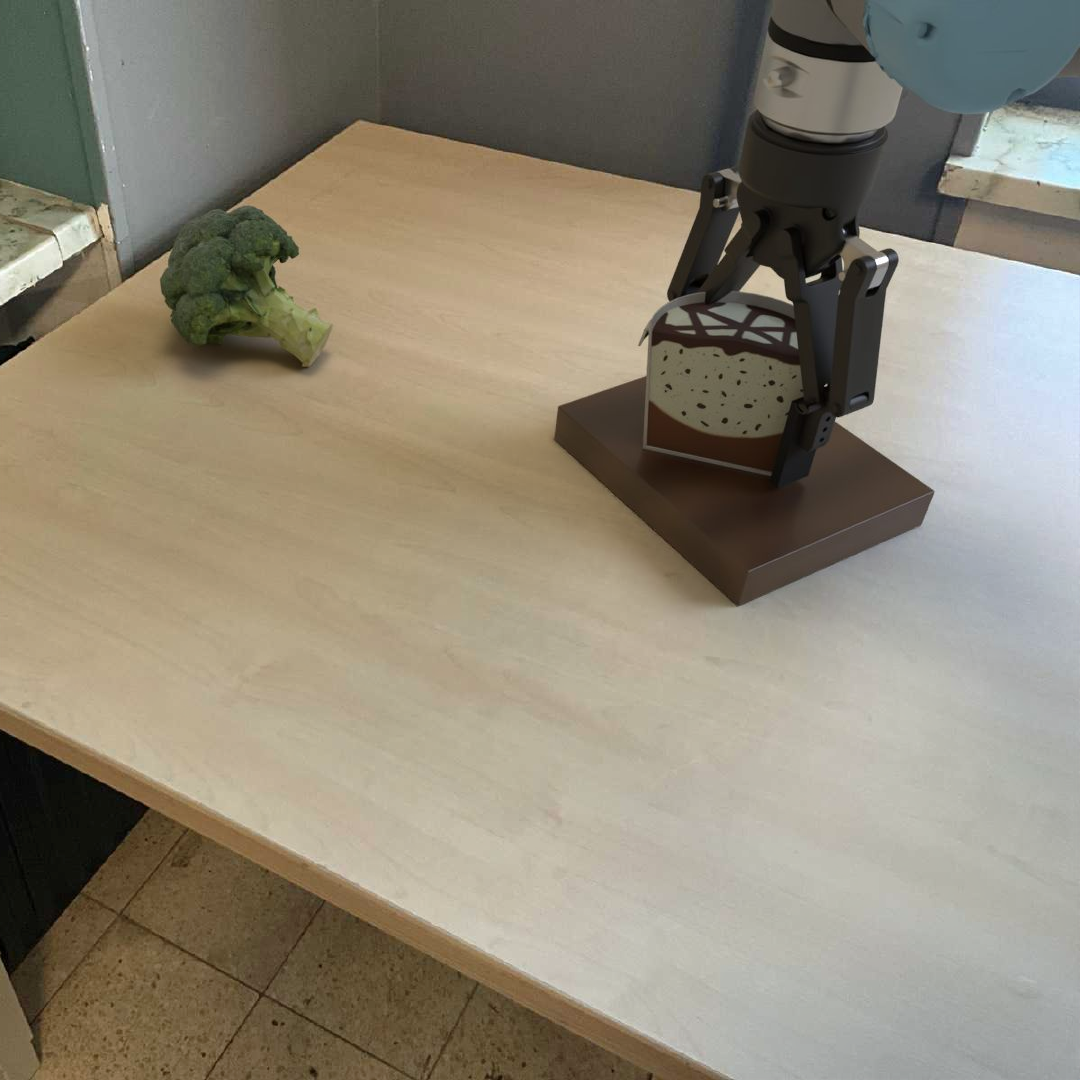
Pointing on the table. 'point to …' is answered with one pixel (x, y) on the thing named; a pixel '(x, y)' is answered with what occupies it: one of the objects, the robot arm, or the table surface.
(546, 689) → the table surface
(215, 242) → the vegetable
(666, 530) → the board
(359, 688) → the table surface
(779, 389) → the food container
